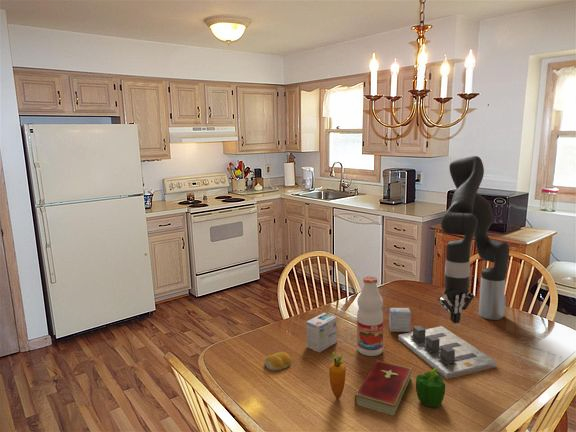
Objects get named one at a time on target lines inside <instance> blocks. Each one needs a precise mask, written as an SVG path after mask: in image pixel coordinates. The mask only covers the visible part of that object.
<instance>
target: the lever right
mask: <svg viewBox="0 0 576 432" xmlns="http://www.w3.org/2000/svg"><path fill="white" fill-rule="evenodd" d="M412 332H413V335H411V338H413V339H414V340H415V341H417V342H419V341H424V340H426V337H425V332H426V328H424V327H423V326H421V325H415V326H412Z"/></svg>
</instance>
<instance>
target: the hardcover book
mask: <svg viewBox="0 0 576 432" xmlns="http://www.w3.org/2000/svg"><path fill="white" fill-rule="evenodd" d="M412 371H413V368H411V367H407V366H403V365H399V364H395V363H391V362H387V361H383V360H380V359H379V360H376V362H375V363H374V365H373V367H372V368H371V369H370V370H369V373H368V374H367V375H366V377H365V379H364V381H363V382H362V383H361V386H360V387H359V388H358V390H357V392H356V394H355V395H354V405H355V406H357V405H358V406H360V407H364V408H366V409H367V408H368V409H370V410H374V411H377V412H380V413H384V414H387V415H390V416H395V414H396V413H397V412H396V411H397V410H398V407H399V405H400V402H401V400H402V399H403V397H404V394H405V392H406V390H407V387H408V385H409V382H410V380H411V375H412V374H411V373H412Z"/></svg>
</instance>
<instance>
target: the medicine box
mask: <svg viewBox="0 0 576 432" xmlns="http://www.w3.org/2000/svg"><path fill="white" fill-rule="evenodd" d="M388 312H389V314H388V315H389V316H388V319H389V320H388V324H389V325H388V327H389V331H390V332H391V333H392V332H393V333H401V332H402V333H404V332H405V333H410V332H411V319H412V318H411V317H412V315H411V314H412V312H411V310H410V308H409V307H389V311H388Z"/></svg>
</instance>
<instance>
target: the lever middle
mask: <svg viewBox="0 0 576 432" xmlns="http://www.w3.org/2000/svg"><path fill="white" fill-rule="evenodd" d="M439 341H440V339H439V338H437V337H436V336H434V335H430V336H426V345H424V348H426V349H427V350H428V351H430V352H435V351H440V349H441V348H440V347H439Z"/></svg>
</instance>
